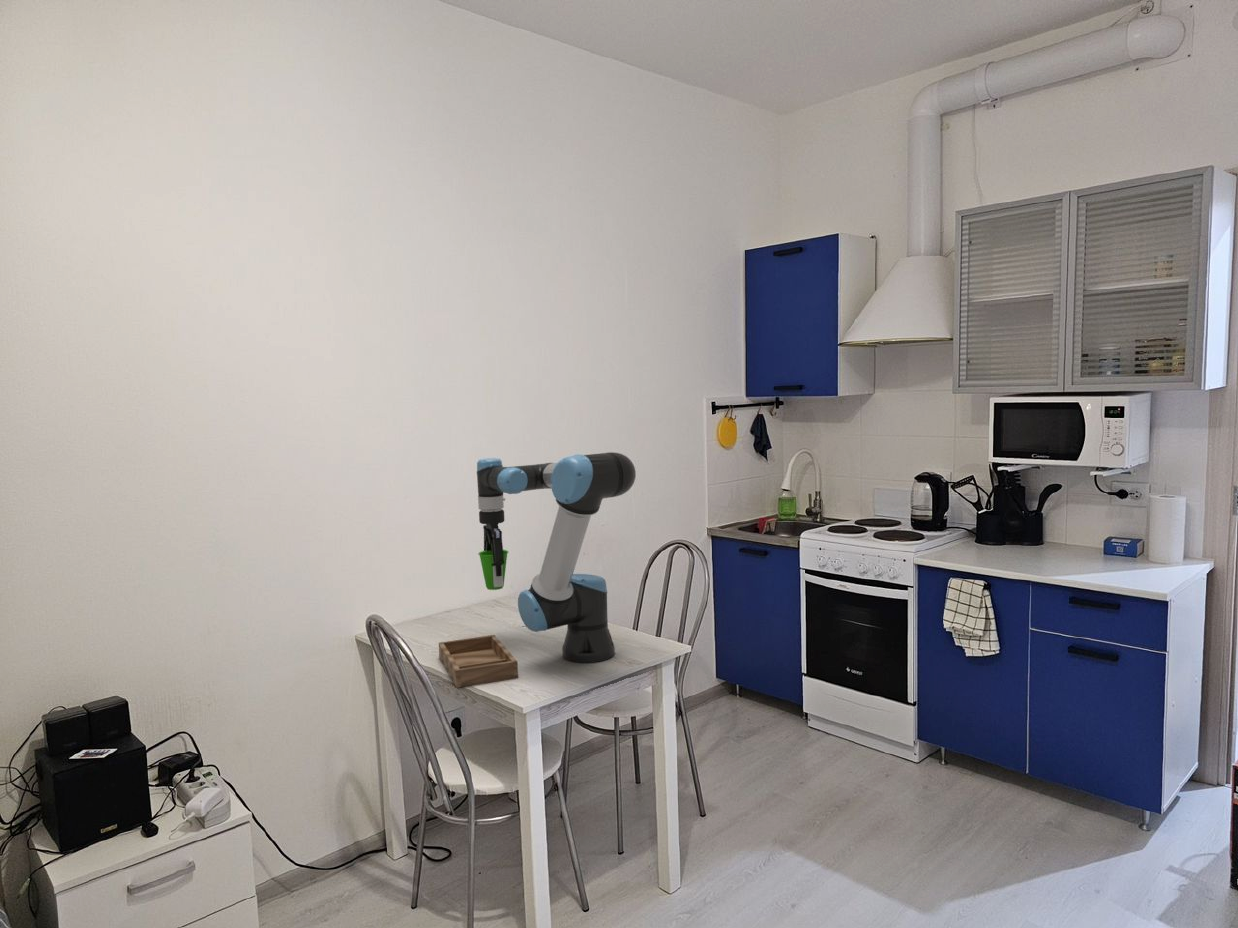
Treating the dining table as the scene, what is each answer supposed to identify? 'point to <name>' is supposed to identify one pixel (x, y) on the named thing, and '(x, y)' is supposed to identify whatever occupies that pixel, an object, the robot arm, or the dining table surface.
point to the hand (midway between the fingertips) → (494, 582)
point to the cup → (491, 568)
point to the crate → (477, 661)
